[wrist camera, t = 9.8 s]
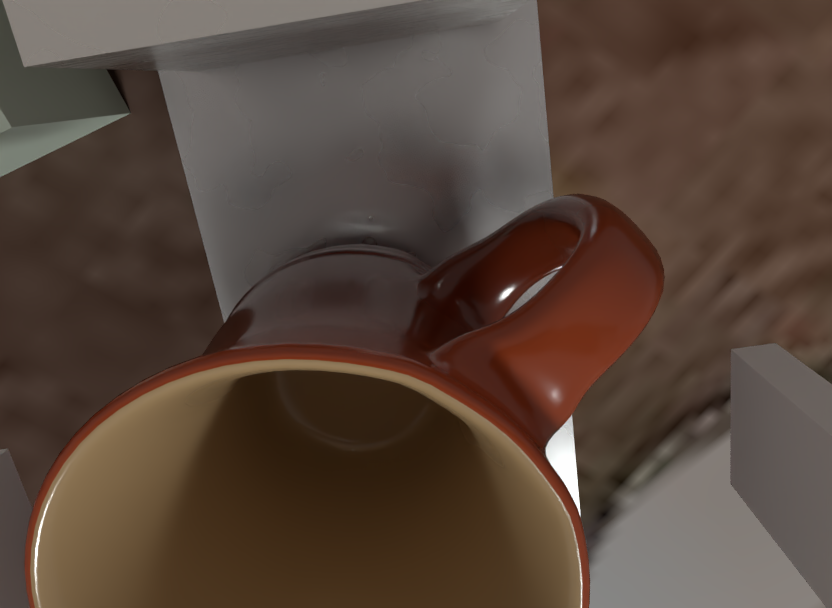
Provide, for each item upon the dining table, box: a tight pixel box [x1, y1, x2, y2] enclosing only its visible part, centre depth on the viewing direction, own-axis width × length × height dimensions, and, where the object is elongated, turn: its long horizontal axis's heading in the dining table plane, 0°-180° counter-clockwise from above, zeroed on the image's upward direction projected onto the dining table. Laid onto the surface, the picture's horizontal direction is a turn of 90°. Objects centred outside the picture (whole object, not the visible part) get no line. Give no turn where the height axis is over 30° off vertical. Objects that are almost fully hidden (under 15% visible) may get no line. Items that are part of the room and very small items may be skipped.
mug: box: [24, 194, 665, 608], centre depth 15 cm, size 12×9×10 cm
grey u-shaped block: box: [2, 0, 580, 514], centre depth 16 cm, size 10×25×10 cm, turn 9°
